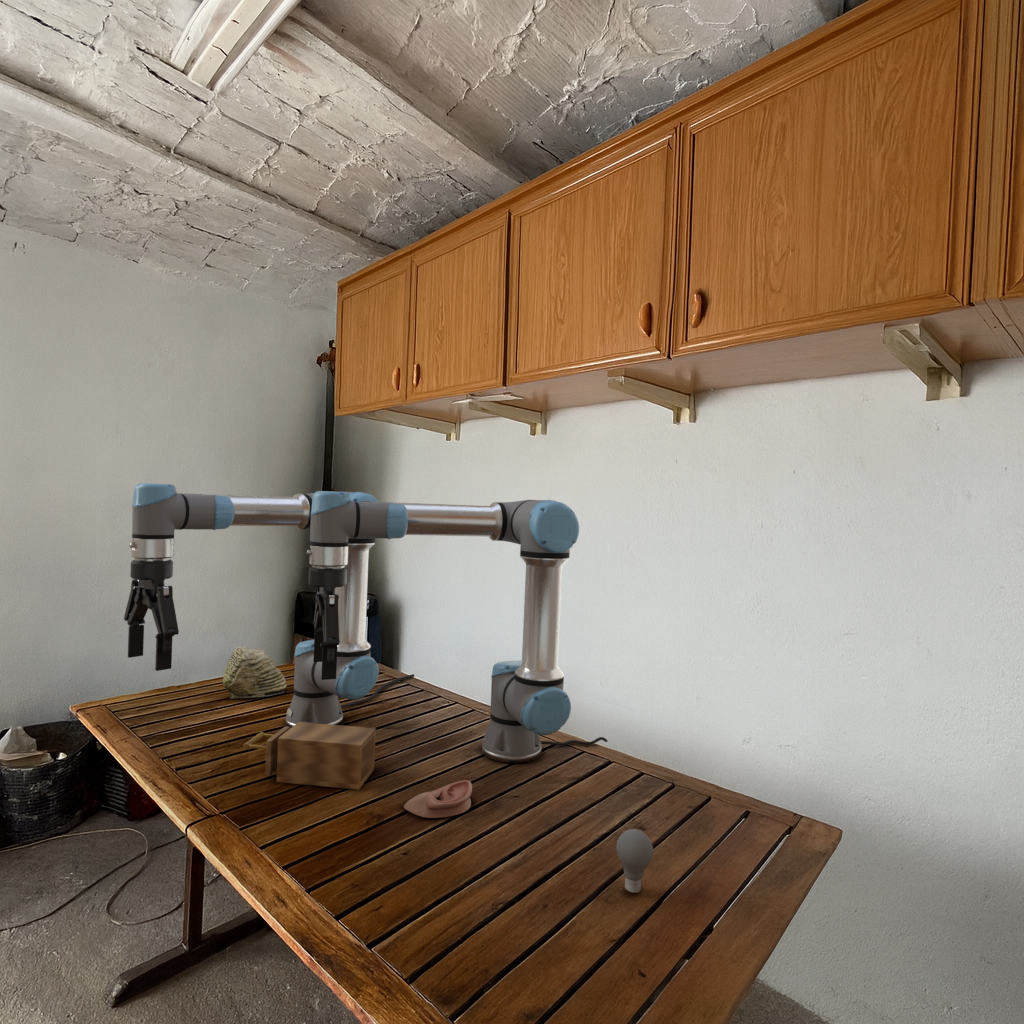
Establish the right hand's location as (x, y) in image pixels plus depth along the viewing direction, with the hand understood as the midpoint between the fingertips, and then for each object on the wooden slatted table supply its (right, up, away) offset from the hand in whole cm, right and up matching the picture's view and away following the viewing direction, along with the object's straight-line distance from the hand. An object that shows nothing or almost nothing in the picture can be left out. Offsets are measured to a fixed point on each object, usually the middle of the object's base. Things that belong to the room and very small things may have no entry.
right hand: (324, 670), depth 130 cm
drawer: (-10, -26, +15) cm, 32 cm away
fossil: (-42, -25, +68) cm, 84 cm away
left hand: (-36, +2, -1) cm, 36 cm away
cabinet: (-4, -28, +14) cm, 31 cm away
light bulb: (+59, -31, -24) cm, 71 cm away
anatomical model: (+23, -29, +2) cm, 37 cm away
